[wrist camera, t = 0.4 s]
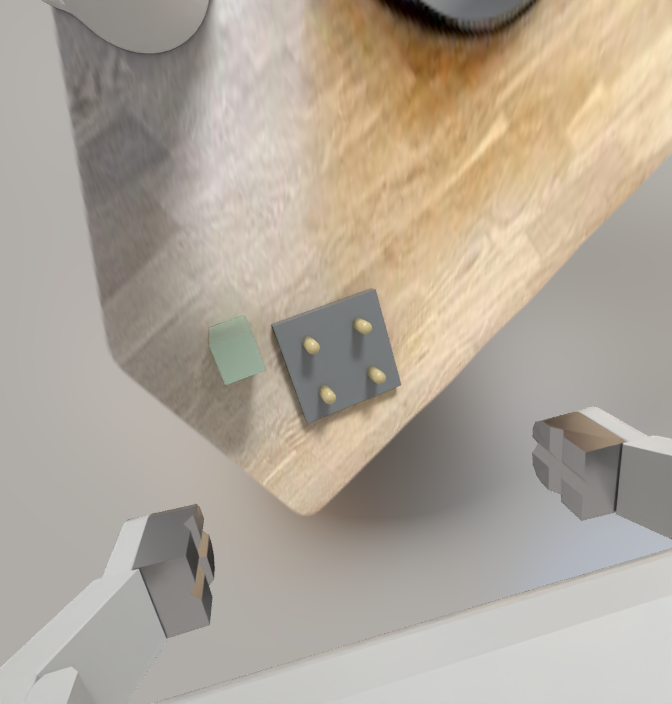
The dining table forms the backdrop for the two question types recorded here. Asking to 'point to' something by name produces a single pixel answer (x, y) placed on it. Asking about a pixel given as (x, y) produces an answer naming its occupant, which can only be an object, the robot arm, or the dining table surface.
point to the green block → (235, 350)
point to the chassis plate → (338, 354)
